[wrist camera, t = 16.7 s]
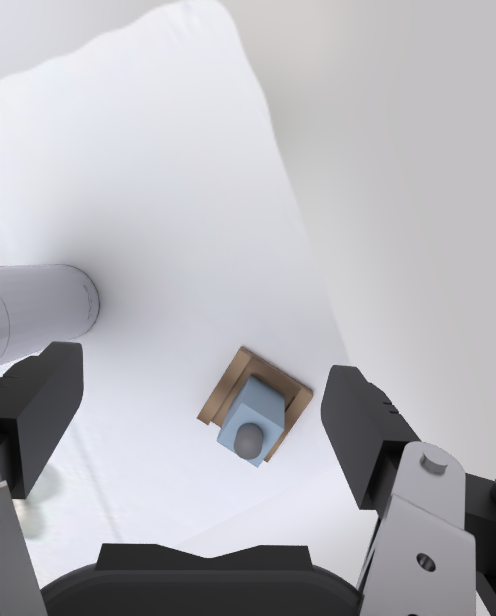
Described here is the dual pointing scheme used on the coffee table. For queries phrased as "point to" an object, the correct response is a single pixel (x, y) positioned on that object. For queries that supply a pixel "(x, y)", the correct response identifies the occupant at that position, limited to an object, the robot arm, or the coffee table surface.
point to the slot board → (251, 364)
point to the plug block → (253, 421)
